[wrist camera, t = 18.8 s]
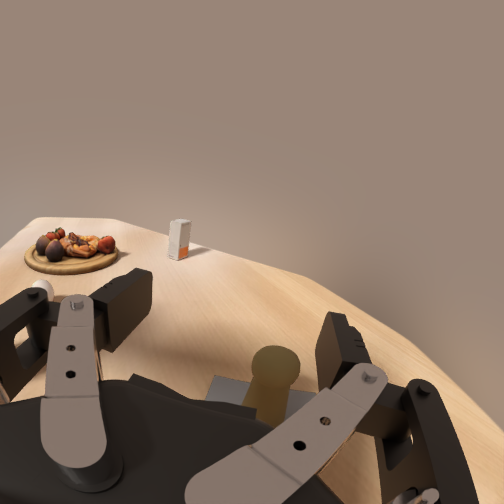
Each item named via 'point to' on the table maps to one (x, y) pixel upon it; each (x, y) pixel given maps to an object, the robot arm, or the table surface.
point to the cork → (272, 383)
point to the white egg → (46, 286)
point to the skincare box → (179, 239)
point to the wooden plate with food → (70, 253)
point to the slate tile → (237, 390)
